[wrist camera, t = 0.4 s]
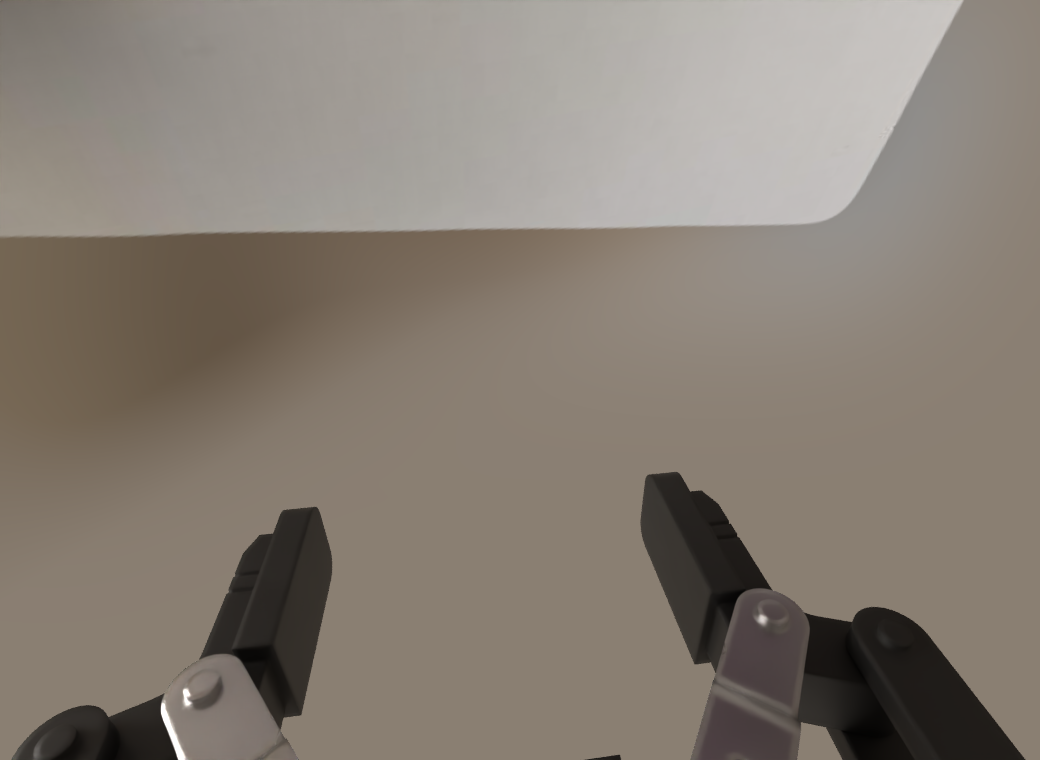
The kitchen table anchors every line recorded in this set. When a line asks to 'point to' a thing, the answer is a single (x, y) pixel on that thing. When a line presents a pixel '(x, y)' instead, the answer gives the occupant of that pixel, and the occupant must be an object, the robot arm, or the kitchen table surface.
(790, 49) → the kitchen table surface
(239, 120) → the kitchen table surface
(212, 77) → the kitchen table surface
